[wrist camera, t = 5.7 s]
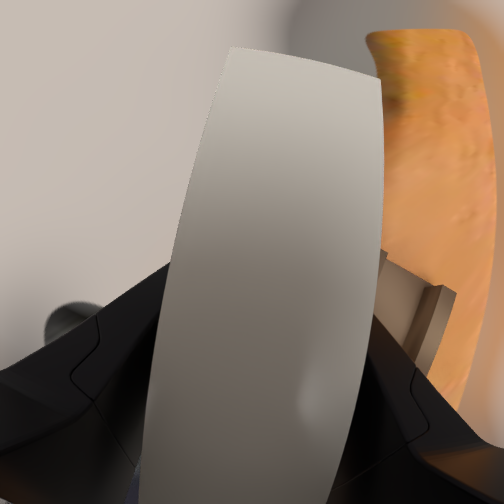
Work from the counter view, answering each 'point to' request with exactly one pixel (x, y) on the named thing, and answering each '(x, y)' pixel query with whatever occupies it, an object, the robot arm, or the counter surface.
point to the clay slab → (268, 288)
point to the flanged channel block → (412, 311)
